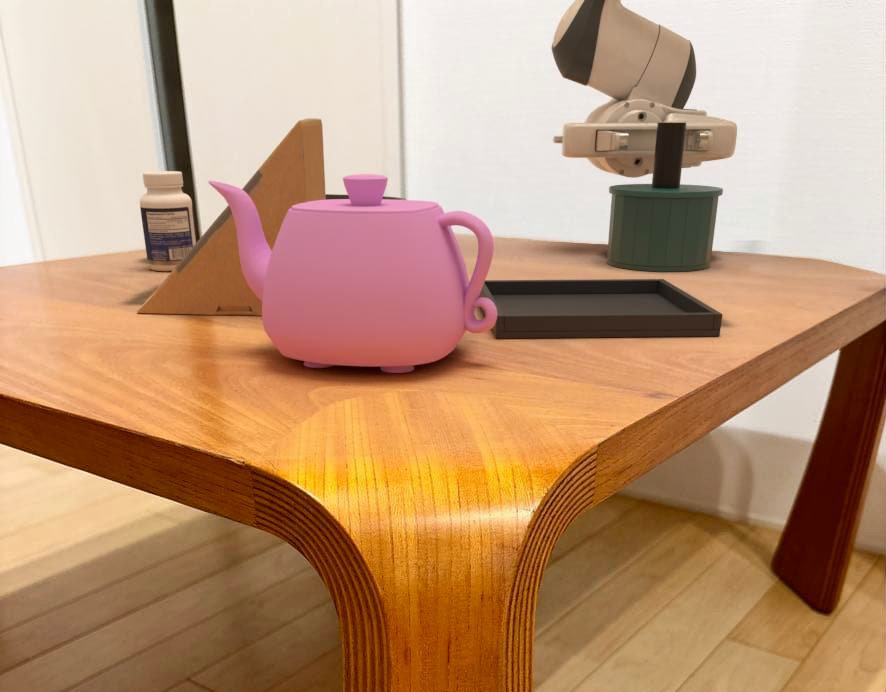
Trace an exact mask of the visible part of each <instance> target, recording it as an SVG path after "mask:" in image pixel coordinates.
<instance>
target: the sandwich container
mask: <svg viewBox="0 0 886 692" xmlns="http://www.w3.org/2000/svg"><path fill="white" fill-rule="evenodd" d="M324 152H325V151H324V131H323V121H322V119H321V118H314V117H313V118H311V117H309V118H307V117H306V118H304V119H299V120H298V121H297V122H296V123H295V124H294V125H293V126H292V128H291V129H290V130H289V132H288V133H287V134H286V135H285V136H284V137H283V139H282V140H281V141H280V143H279V144H278V145H277V146H276V147H275V148H274V150H273V151H272V152H271V154H270V155H269V156H268V157H267V158H266V160H265V161H264V162H263V163H262V164H261V166H259V168H258V169H257V170H256V171H255V173H254V174H253V175H252V177H251V178H250V179H249V181H247V182H246V184H245V185H244V186H243V188H241V189H242V190H244V191H245V192H246V193H247V194H248V195H249V197H250V198H251V199H252V201H253V203H254V205H255V207H256V209H257V212H258V215H259V218H260V222H261V226H262V229H263V233H264V236H265V239H266V241H267V244H268V245H269V247H270V249H271V250H273V247H274V244H275V241H276V239H277V236H278V233H279V230H280V228H281V225H282V223H283V220H284V218H285V216H286V214H287V212H288V210H289V209H290V208H291V207H292V206H293V205H296V204H300V203H305V202H310V201H317V200H326V176H325V174H326V173H325V153H324ZM136 313H137V314H167V315H168V314H169V315H170V314H171V315H209V316H210V315H212V316H214V315H215V316H216V315H223V316H224V315H226V316H227V315H230V316H233V315H234V316H262V301H261V300H260V299H259V298H258V297H257V296H256V295H255V294H254V292H253V291H252V290H251V288H250V287H249V285H248V284H247V281H246V279H245V277H244V275H243V271H242V268H241V264H240V257H239V249H238V238H237V230H236V225H235V220H234V217H233V214H232V211H231V208H230V206H229V205H228V204H227V206H226V208H224V209H223V211H222V212H221V213H220V214H219V215H218V216H217V218H216V219H215V220H214V221H213V223H212V224H211V225H210V226H209V228H207V230H206V231H205V232H204V233H203V235H201V237H199V239H198V240H197V243H196V244H195V245H194V246H193V247H192V249H191V250H190V251H189V252H188V253H187V254H186V256H185V257H184V258H183V259H182V260H181V261H180V263H179V264H178V265H177V266H176V267H175V268H174V270H173V271H170V273H169V274H168V275H167V276H166V277H165V278H164V279H163V281H161V283H160V284H159V285H158V287H157V288H155V290H154V291H153V292H152V294H151V295H150V296H149V297H148V298H147V299H146V300H145V302H143V304H142V305H141V306H140V307H139V308H138V309H137V310H136Z"/></svg>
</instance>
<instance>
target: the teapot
mask: <svg viewBox="0 0 886 692" xmlns="http://www.w3.org/2000/svg"><path fill="white" fill-rule="evenodd" d="M342 180H343V186H344V188H345V191H346V193H347V194H346V195H348V196H349V199H329V200H317V201H310V202H305V203H300V204H296V205H293V206H292V207H291V208H290V209H289V210H288V212H287V214H286V216H285V218H284V220H283V223H282V225H281V228H280V230H279V233H278V236H277V239H276V241H275V244H274V247H273V250H271V249H270V247H269V245H268V244H267V241H266V239H265V236H264V233H263V229H262V226H261V222H260V218H259V215H258V212H257V209H256V207H255V205H254V203H253V201H252V199H251V198H250V197H249V195H248V194H247V193H246V192H245V191H244V190H242V189H243V188H241V187H238V186H235V185H231V184H228V183H223V182H220V181H215V180H207V182H208V184H209V185H210V186H211V187H212V188H213V189H215V191H217V192H218V194H220V195H221V196H222V197H223V199H224V200H225V202H226V203H227V206H228V205H229V206H230V208H231V211H232V214H233V217H234V220H235V225H236V230H237V238H238V249H239V257H240V264H241V268H242V271H243V275H244V277H245V279H246V281H247V284H248V285H249V287H250V288H251V290H252V291H253V292H254V294H255V295H256V296H257V297H258V298H259V299H260V300H261V301H262V315H261V319H262V326H263V330H264V333H266V336H268V338H269V340H270V341H271V342H272V344H273V345H274V346H275V348H276V349H277V350H278V352H279V353H280V354H281V355H282V356H284V357H285V358H289V359H293V360H298V361H303V365H304V366H305V367H307V368H313V369H323V368H324V369H325V368H330V367H333V366H345V367H380V371H382V372H384V373H389V374H390V373H391V374H403V373H409V372H412V371H415V366H419V365H425V364H431V363H433V362H434V363H435V362H437V361H439V360H441V359H443V358H445V357H447V356H448V355H449V354H450V353H452V352H453V351H454V350H455V349H456V347H457V346H458V344H459V342H460V341H461V340H462V339H463V337H464V335H465V334H466V332H469V333H471V334H482V333H486V332H488V331H490V330H492V328H493V326H494V325H495V323H496V320H497V308H496V306H495V304H494V303H493V302H492V301H491V300H490V299H488V298H484V297H481V298H478V297H479V295H480V292H481V289H482V287H483V284H484V282H485V280H487V276H488V274H489V271H490V267H491V264H492V262H493V261H492V260H493V256H494V248H495V247H494V237H493V234H492V232H491V230H490V228H489V227H488V226H487V224H486V223H485V222H484V221H483V220H482V219H481V218H479V217H478V216H476V215H474V214H472V213H470V212H467V211H464V210H463V211H462V210H453V211H452V210H451V211H447V212H445V211H444V209H443V207H442V206H441V205H440V204H439V203H438V202H436V201H430V200H429V201H428V200H417V199H416V200H415V199H414V200H412V199H406V200H391V199H382V198H383V196H384V195H385V191H386V188H387V186H388V180H389V179H388V177H387V176H385V175H381V174H373V173H372V174H371V173H361V174H360V173H359V174H350V175H345V176H343V177H342ZM452 226H458V227H459V226H460V227H463V228H465V229H468V230H469V231H471V232H472V233H473V234H474V235H475V237H476V239H477V245H478V247H477V248H478V249H477V257H476V262H475V266H474V269H473V272H472V274H471V278H469V272H468V269H467V266H466V261H465V258H464V255H463V253H462V250H461V248H460V245H459V242H458V239H457V237H456V235H455V233H454V230H453V228H452ZM478 307H480V308H481V307H482V308H483V309H484V310H485V313H486V316H485V315H484V318H483V319H477V318H476V313H475V311H476V308H478Z"/></svg>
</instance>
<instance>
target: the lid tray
mask: <svg viewBox="0 0 886 692" xmlns="http://www.w3.org/2000/svg"><path fill="white" fill-rule="evenodd" d="M481 297H484V298H488V299H490V300H491V301H492V302H493V303H494V304H495V306H496V308H497V320H496V323H495V325H494V326H493V328H492V329H491V331H492V333H493V336H494V337H495V339H575V338H577V339H578V338H579V339H583V338H584V339H585V338H586V339H587V338H592V339H593V338H669V337H670V338H673V337H675V338H677V337H678V338H680V337H684V338H686V337H720V336H721V329H722V320H723V313H722V312H720V311H718V310H716V309H715V308H713V307H711V306H710V305H708V304H707V303H705V302H703V301H701V300H700V299H698V298H696V297H695V296H693V295H691V294H689V293H688V292H686V291H684V290H683V289H681V288H679V287H678V286H676V285H674V284H672V283H671V282H669V281H667V280H665V279H664V278H647V279H646V278H635V279H634V278H630V279H629V278H628V279H627V278H625V279H623V278H622V279H621V278H620V279H618V278H617V279H616V278H614V279H613V278H612V279H610V278H609V279H606V278H605V279H603V278H602V279H485V282H484V284H483V287H482V289H481V292H480V295H479V297H478V298H481ZM480 310H481V311H482V313H483V316H484V317H485V316H486V313H485V310H484V309H483V308H482V307H480Z"/></svg>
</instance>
